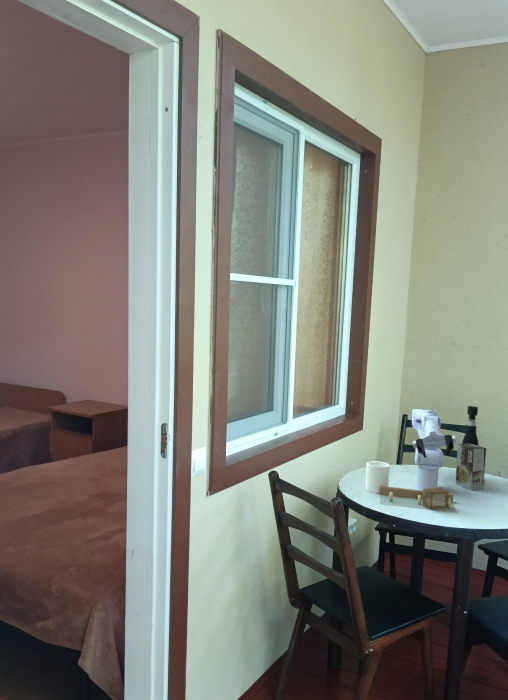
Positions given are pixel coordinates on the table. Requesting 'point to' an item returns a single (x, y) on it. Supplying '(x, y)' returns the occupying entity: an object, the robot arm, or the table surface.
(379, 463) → the mug
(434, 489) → the frame
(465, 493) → the table surface
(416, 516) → the table surface
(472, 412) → the wine bottle
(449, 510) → the board
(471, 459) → the coffee box
